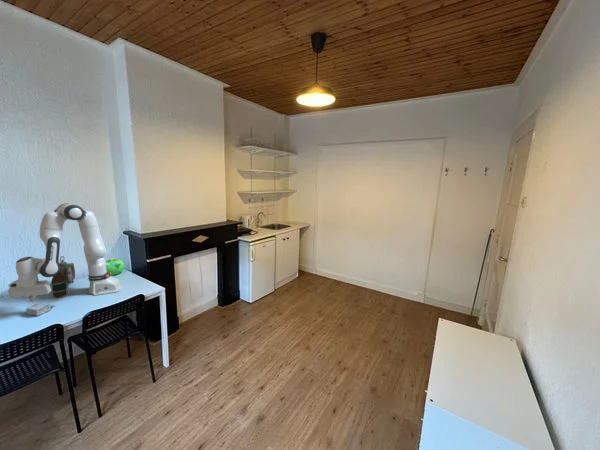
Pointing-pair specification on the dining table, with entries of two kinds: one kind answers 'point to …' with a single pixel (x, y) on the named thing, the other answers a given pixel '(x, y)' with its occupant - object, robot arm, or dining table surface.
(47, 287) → the robot arm
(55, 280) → the beer bottle
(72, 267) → the old metal lantern
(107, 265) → the toy bird
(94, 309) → the dining table surface
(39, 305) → the medicine box
